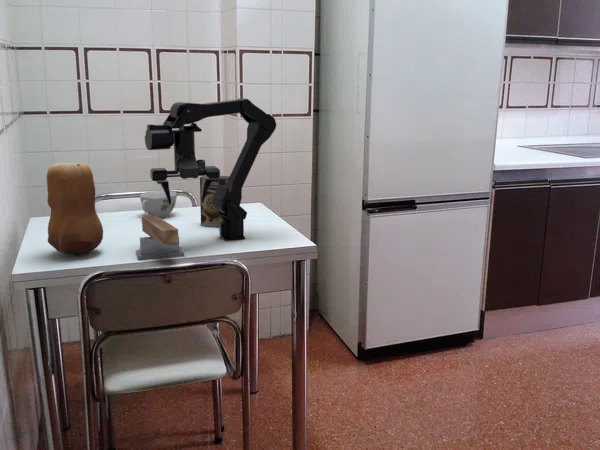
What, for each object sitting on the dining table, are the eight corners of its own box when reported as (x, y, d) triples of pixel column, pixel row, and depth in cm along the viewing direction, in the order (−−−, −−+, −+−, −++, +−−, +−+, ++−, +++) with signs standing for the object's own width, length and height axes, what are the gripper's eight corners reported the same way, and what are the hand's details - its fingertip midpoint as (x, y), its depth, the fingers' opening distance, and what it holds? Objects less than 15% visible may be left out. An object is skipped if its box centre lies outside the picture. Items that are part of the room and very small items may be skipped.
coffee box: (200, 226, 187) (198, 177, 183) (207, 221, 193) (206, 174, 189) (226, 228, 185) (225, 178, 181) (233, 223, 191) (232, 175, 187)
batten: (156, 229, 162) (155, 215, 161) (178, 244, 147) (178, 229, 146) (142, 230, 160) (141, 216, 159) (163, 246, 145) (162, 231, 144)
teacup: (156, 210, 208) (155, 189, 206) (185, 214, 203) (184, 192, 201) (128, 219, 195) (127, 196, 193) (158, 223, 190) (156, 199, 188)
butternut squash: (89, 244, 164) (83, 157, 158) (113, 254, 155) (107, 162, 149) (40, 253, 154) (31, 161, 148) (63, 264, 145) (54, 167, 140)
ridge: (180, 250, 160) (180, 232, 158) (184, 256, 154) (183, 238, 153) (136, 254, 155) (135, 236, 154) (138, 260, 150) (137, 241, 149)
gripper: (153, 152, 149) (156, 211, 153) (224, 150, 155) (225, 206, 159) (148, 148, 159) (151, 203, 163) (215, 146, 165) (216, 199, 169)
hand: (186, 203), depth 163 cm, fingers open, 9 cm apart
